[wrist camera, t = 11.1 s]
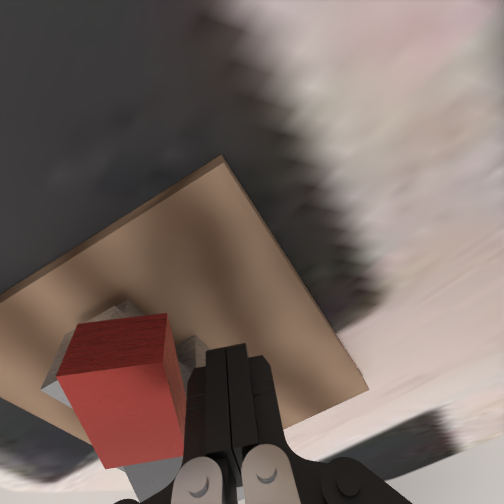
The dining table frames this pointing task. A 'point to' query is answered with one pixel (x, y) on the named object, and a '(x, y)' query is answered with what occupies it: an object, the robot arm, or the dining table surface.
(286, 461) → the robot arm
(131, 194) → the dining table surface
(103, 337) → the lever
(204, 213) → the walnut board
